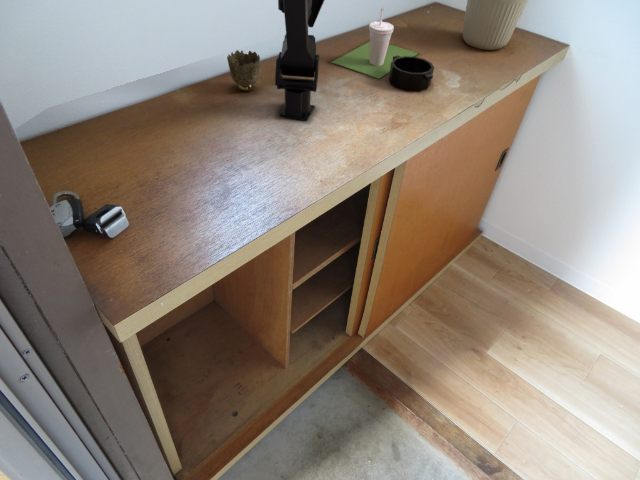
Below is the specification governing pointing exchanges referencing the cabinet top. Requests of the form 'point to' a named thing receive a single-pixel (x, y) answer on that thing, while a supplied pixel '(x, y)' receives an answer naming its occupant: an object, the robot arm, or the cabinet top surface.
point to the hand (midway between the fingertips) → (304, 33)
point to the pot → (410, 73)
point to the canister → (491, 22)
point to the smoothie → (379, 40)
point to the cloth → (361, 60)
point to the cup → (244, 69)
